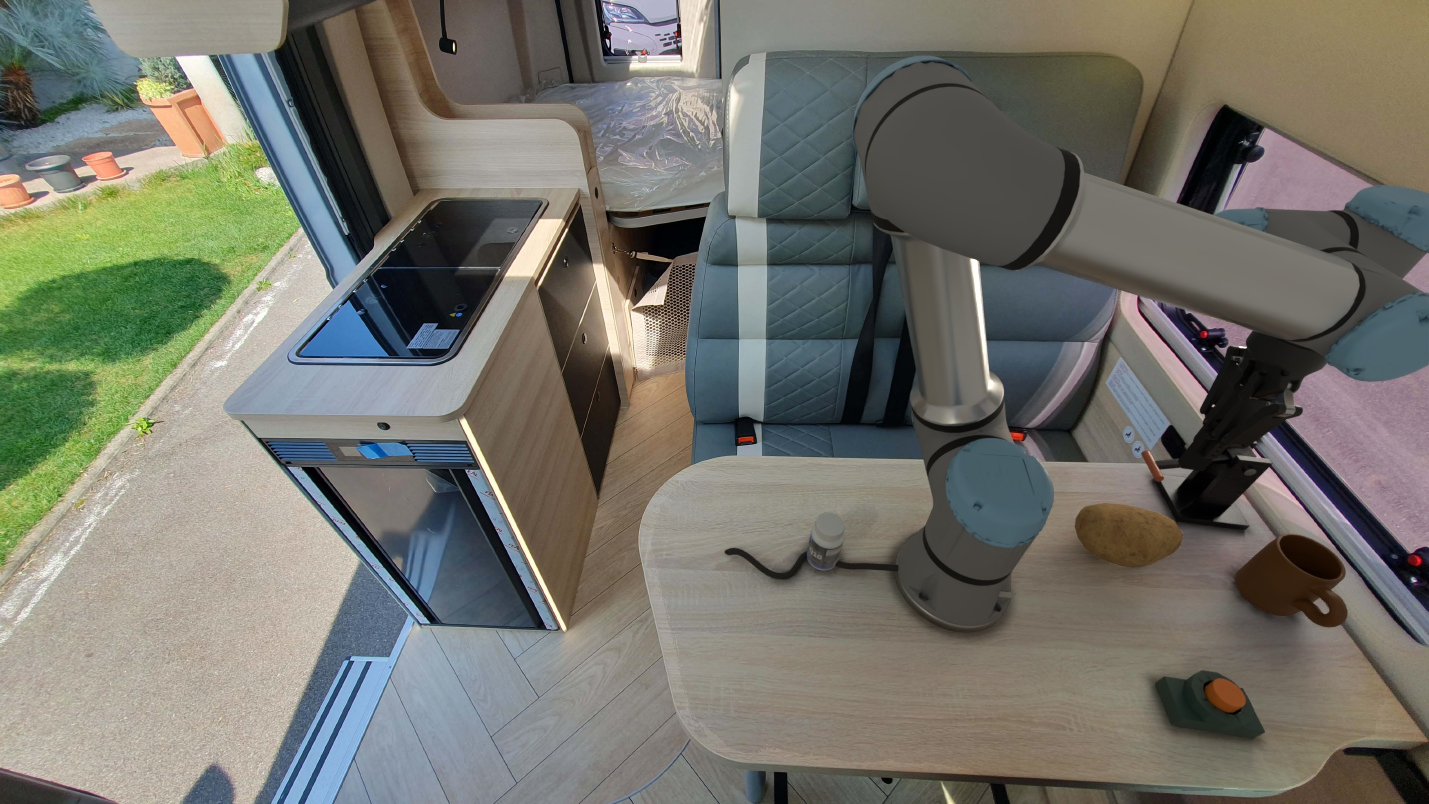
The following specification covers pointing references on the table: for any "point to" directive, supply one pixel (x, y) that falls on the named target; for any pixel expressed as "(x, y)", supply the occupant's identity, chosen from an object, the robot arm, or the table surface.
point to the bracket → (1213, 492)
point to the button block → (1205, 707)
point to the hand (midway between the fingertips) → (1190, 465)
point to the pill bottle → (826, 541)
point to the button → (1225, 695)
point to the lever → (1173, 463)
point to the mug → (1294, 580)
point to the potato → (1127, 534)
